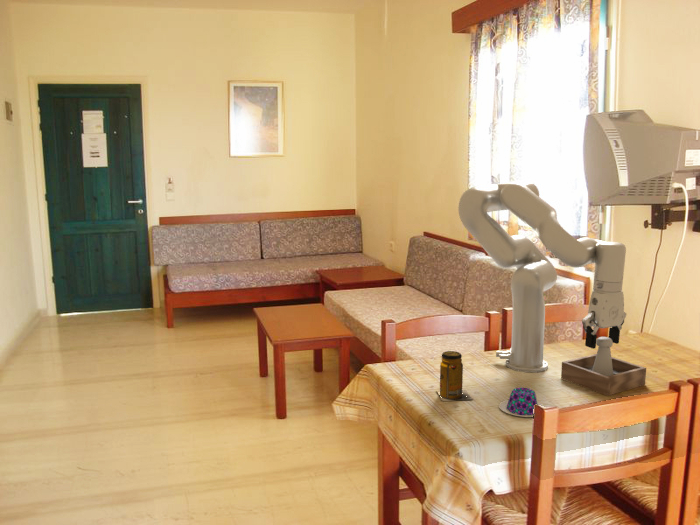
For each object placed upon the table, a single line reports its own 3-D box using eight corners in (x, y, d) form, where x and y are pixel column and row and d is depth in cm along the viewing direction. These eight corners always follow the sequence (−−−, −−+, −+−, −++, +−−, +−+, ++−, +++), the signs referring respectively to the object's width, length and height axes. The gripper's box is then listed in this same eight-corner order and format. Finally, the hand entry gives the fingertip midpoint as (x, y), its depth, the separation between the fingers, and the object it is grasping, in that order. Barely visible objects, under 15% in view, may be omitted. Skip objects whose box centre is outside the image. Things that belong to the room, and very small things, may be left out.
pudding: (495, 415, 169) (495, 395, 168) (502, 399, 180) (503, 380, 179) (544, 422, 164) (545, 402, 163) (549, 405, 175) (550, 386, 174)
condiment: (435, 391, 184) (436, 350, 182) (465, 390, 185) (467, 348, 183) (442, 401, 177) (442, 358, 175) (473, 400, 178) (474, 357, 176)
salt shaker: (614, 385, 188) (617, 341, 186) (593, 384, 189) (595, 340, 187) (610, 378, 194) (613, 335, 191) (589, 377, 195) (592, 334, 192)
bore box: (607, 395, 181) (608, 378, 180) (561, 378, 194) (561, 361, 193) (645, 384, 189) (646, 367, 188) (598, 369, 202) (599, 353, 201)
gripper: (597, 292, 179) (592, 353, 183) (639, 285, 188) (633, 344, 191) (575, 286, 186) (570, 345, 189) (616, 280, 194) (611, 337, 198)
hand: (601, 344), depth 190 cm, fingers open, 9 cm apart
